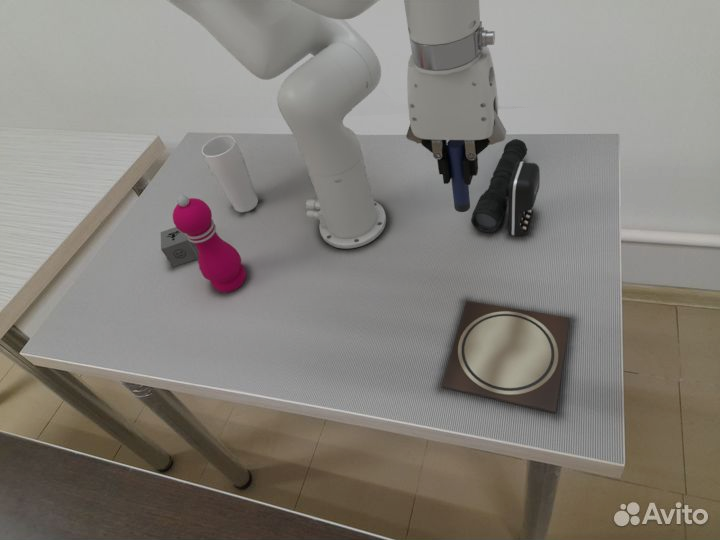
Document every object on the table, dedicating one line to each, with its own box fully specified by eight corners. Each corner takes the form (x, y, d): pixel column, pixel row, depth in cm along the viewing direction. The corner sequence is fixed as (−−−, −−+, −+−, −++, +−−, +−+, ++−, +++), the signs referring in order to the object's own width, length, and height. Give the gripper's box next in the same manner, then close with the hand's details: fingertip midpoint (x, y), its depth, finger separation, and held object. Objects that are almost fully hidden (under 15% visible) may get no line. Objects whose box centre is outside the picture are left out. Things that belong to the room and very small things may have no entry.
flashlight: (470, 231, 91) (469, 210, 87) (503, 157, 102) (503, 136, 98) (499, 236, 89) (499, 214, 85) (529, 160, 100) (530, 138, 96)
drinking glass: (225, 214, 108) (193, 155, 97) (241, 192, 112) (213, 133, 101) (252, 218, 105) (223, 158, 94) (268, 195, 109) (242, 135, 98)
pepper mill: (207, 275, 97) (155, 193, 82) (243, 258, 98) (198, 175, 83) (215, 301, 92) (161, 219, 77) (253, 284, 93) (207, 200, 78)
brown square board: (441, 387, 73) (441, 384, 72) (466, 302, 81) (466, 299, 81) (555, 413, 67) (556, 411, 66) (569, 320, 76) (570, 316, 75)
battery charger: (530, 239, 87) (533, 187, 79) (507, 236, 88) (508, 184, 80) (538, 211, 91) (542, 158, 82) (516, 208, 92) (517, 156, 84)
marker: (453, 211, 74) (445, 147, 66) (456, 201, 75) (449, 137, 67) (468, 212, 73) (462, 147, 65) (471, 202, 74) (466, 137, 66)
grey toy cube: (196, 241, 104) (185, 223, 100) (198, 258, 101) (186, 240, 97) (172, 249, 104) (160, 232, 100) (173, 267, 100) (161, 249, 97)
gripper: (526, 23, 56) (524, 162, 69) (386, 33, 62) (409, 158, 75) (516, 59, 52) (516, 199, 65) (367, 65, 58) (395, 193, 71)
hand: (459, 176), depth 70 cm, fingers closed on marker, 2 cm apart
